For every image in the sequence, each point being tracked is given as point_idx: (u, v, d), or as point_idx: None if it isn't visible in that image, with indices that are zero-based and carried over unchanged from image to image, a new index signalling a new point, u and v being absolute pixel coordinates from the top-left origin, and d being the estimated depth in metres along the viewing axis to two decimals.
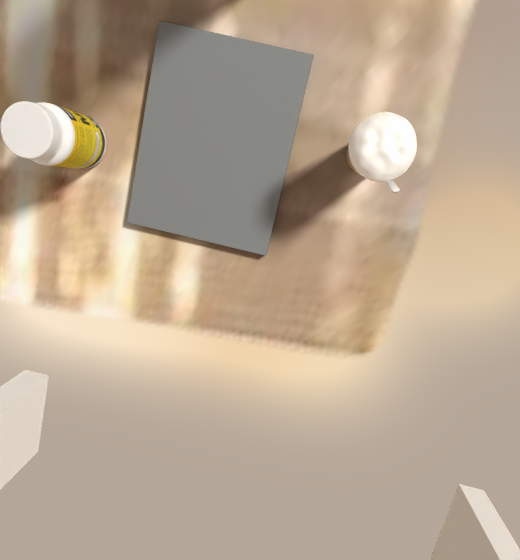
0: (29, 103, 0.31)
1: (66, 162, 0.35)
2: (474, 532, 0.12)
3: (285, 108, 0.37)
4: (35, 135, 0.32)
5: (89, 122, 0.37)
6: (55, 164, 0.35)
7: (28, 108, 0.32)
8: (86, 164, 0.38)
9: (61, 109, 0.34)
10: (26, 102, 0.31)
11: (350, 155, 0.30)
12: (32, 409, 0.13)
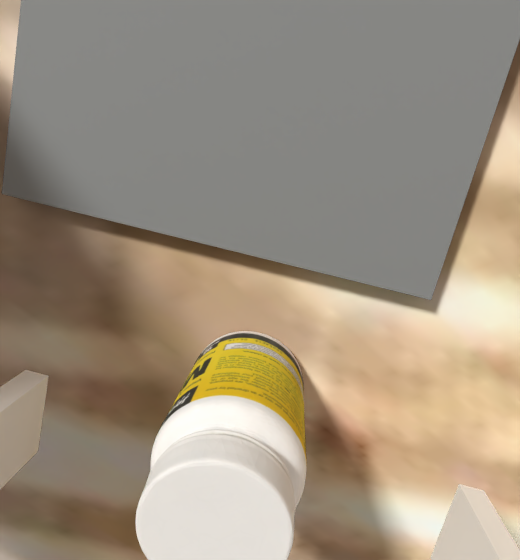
0: (140, 512, 0.11)
1: (297, 424, 0.14)
2: (474, 532, 0.12)
3: None
4: (226, 510, 0.11)
5: (205, 359, 0.16)
6: (304, 454, 0.13)
7: (153, 516, 0.11)
8: (296, 377, 0.17)
9: (166, 421, 0.13)
10: (137, 519, 0.11)
11: None
12: (32, 409, 0.13)
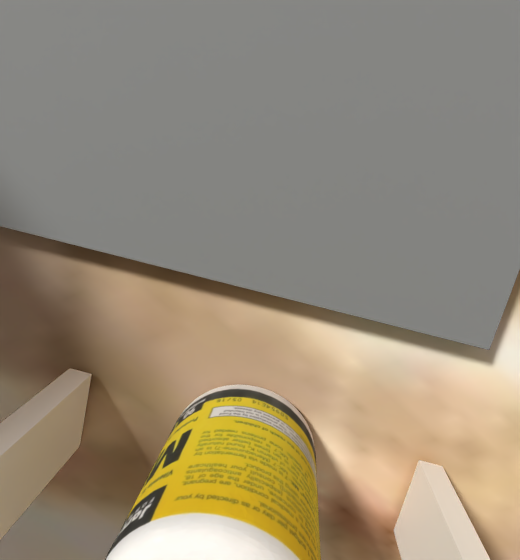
0: None
1: (310, 548, 0.09)
2: (428, 502, 0.13)
3: None
4: None
5: (183, 430, 0.12)
6: None
7: None
8: (307, 453, 0.12)
9: (116, 547, 0.09)
10: None
11: None
12: (77, 405, 0.14)
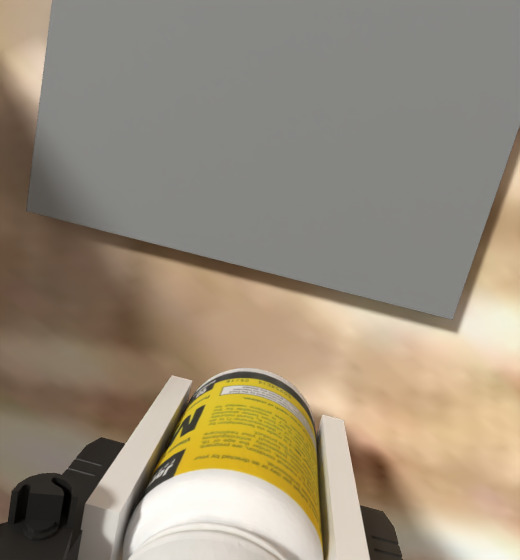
0: None
1: (311, 502, 0.11)
2: (321, 448, 0.14)
3: None
4: None
5: (197, 407, 0.13)
6: (320, 545, 0.10)
7: None
8: (308, 428, 0.14)
9: (143, 500, 0.10)
10: None
11: None
12: (182, 410, 0.15)
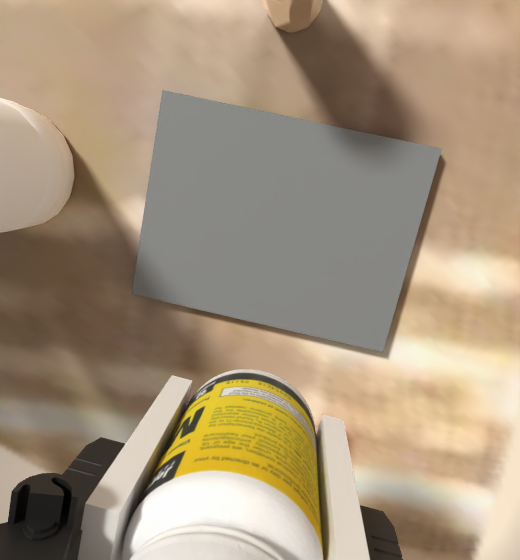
0: None
1: (311, 504, 0.11)
2: (321, 448, 0.14)
3: (230, 126, 0.27)
4: None
5: (197, 408, 0.13)
6: (320, 548, 0.10)
7: None
8: (308, 429, 0.14)
9: (143, 502, 0.10)
10: None
11: None
12: (183, 410, 0.15)
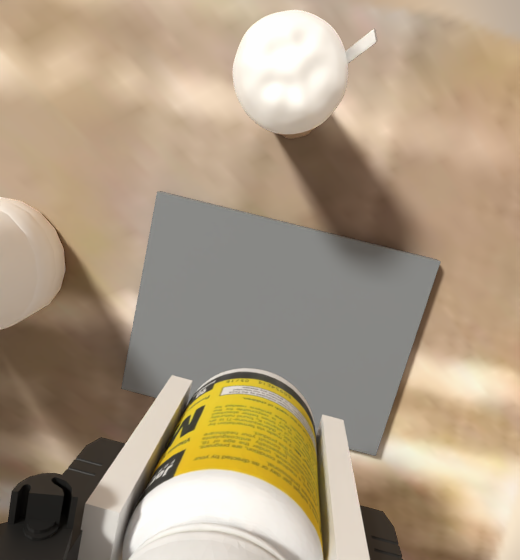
0: None
1: (311, 503, 0.11)
2: (321, 448, 0.14)
3: (226, 230, 0.26)
4: None
5: (197, 407, 0.13)
6: (320, 546, 0.10)
7: None
8: (308, 428, 0.14)
9: (143, 500, 0.10)
10: None
11: (302, 130, 0.18)
12: (183, 410, 0.15)
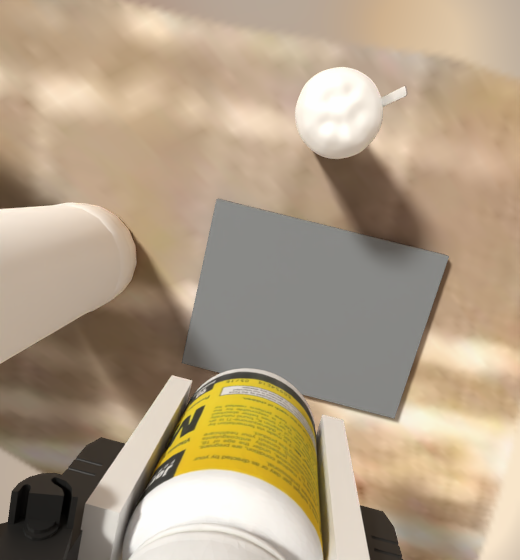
0: None
1: (312, 503, 0.11)
2: (321, 448, 0.14)
3: (272, 230, 0.32)
4: None
5: (197, 407, 0.13)
6: (320, 546, 0.10)
7: None
8: (308, 428, 0.14)
9: (143, 500, 0.10)
10: None
11: (347, 156, 0.24)
12: (182, 410, 0.15)
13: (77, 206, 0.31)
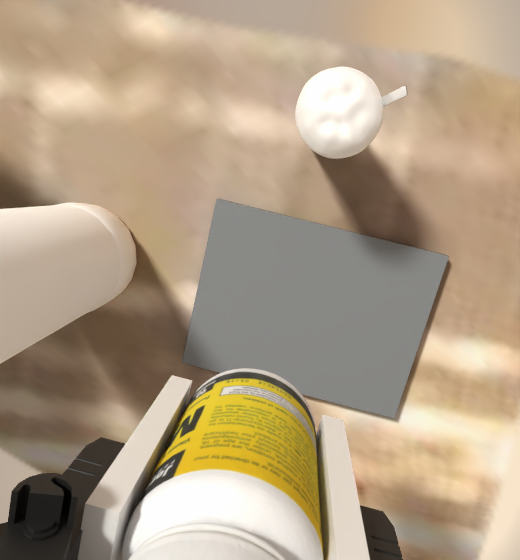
0: None
1: (312, 503, 0.11)
2: (321, 448, 0.14)
3: (272, 230, 0.32)
4: None
5: (197, 407, 0.13)
6: (320, 546, 0.10)
7: None
8: (308, 428, 0.14)
9: (143, 500, 0.10)
10: None
11: (347, 155, 0.24)
12: (183, 410, 0.15)
13: (77, 206, 0.31)
